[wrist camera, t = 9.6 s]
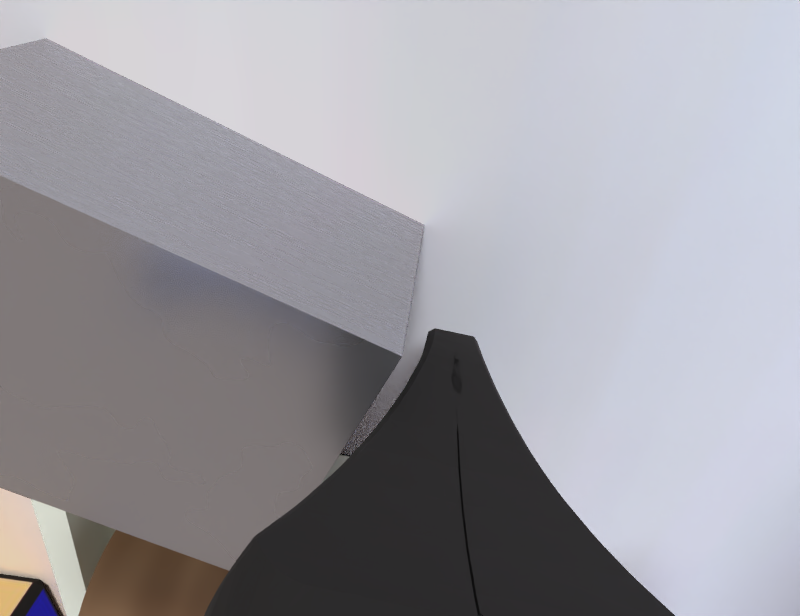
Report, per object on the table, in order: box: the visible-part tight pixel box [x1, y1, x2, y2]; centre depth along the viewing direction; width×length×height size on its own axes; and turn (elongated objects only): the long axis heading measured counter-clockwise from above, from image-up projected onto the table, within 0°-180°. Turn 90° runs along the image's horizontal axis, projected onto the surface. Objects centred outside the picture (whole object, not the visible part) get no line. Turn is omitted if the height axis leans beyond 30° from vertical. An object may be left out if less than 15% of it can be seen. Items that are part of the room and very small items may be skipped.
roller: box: [78, 530, 229, 616], centre depth 15 cm, size 7×4×4 cm, turn 80°
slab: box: [0, 39, 424, 570], centre depth 11 cm, size 8×7×4 cm
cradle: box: [31, 454, 349, 616], centre depth 17 cm, size 10×7×3 cm
